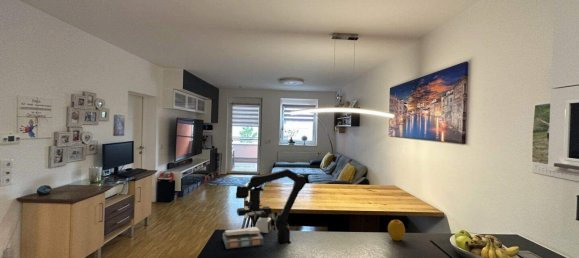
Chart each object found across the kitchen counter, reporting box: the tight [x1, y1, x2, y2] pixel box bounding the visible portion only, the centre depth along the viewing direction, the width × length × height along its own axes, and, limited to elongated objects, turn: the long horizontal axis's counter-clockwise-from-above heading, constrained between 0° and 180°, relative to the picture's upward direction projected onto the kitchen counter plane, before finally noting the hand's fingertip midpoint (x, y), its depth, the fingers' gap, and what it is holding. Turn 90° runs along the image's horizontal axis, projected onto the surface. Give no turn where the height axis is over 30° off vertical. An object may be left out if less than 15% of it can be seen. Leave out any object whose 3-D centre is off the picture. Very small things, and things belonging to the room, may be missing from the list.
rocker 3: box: [245, 226, 261, 234], centre depth 173 cm, size 6×8×2 cm
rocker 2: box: [236, 228, 249, 235], centre depth 171 cm, size 6×8×2 cm
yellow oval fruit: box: [387, 219, 406, 242], centre depth 179 cm, size 10×10×12 cm
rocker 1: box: [224, 229, 238, 236], centre depth 169 cm, size 6×8×2 cm
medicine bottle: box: [256, 212, 272, 234], centre depth 188 cm, size 7×7×12 cm
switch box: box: [222, 232, 264, 250], centre depth 170 cm, size 20×14×4 cm
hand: (253, 226), depth 170 cm, fingers closed
